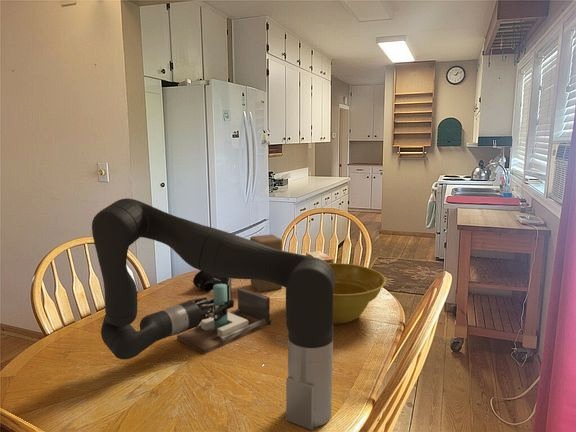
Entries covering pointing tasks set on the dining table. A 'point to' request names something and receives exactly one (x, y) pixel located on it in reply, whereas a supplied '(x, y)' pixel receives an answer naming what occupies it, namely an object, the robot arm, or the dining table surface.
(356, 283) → the planter bowl
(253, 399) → the dining table surface
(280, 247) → the block
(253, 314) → the rail base
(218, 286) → the dowel
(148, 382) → the dining table surface
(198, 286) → the black flared cup shape
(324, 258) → the stack of blocks
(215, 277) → the battery charger
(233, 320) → the carriage
